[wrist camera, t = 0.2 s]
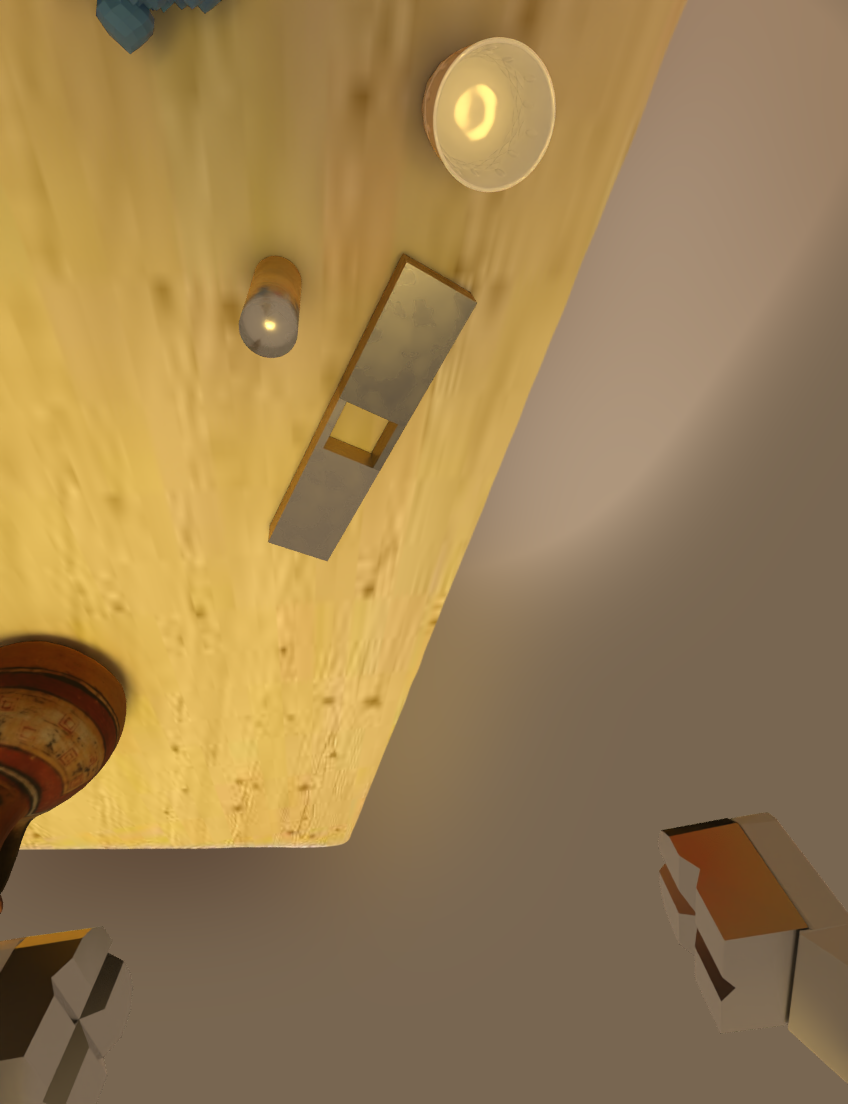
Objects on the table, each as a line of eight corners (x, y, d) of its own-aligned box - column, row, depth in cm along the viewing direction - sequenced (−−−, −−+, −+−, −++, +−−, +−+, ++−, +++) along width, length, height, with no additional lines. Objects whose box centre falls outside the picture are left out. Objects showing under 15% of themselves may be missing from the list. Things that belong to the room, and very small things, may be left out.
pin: (263, 246, 49) (250, 289, 40) (308, 270, 50) (306, 317, 41) (247, 291, 51) (231, 342, 42) (291, 313, 52) (285, 367, 43)
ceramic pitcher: (130, 631, 74) (45, 884, 51) (139, 725, 86) (74, 963, 64) (-51, 621, 69) (-233, 895, 47) (-14, 722, 81) (-144, 979, 59)
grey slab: (402, 253, 50) (406, 262, 48) (470, 292, 53) (477, 302, 51) (269, 525, 67) (268, 542, 64) (327, 544, 70) (327, 561, 67)
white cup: (524, 45, 43) (567, 42, 35) (507, 173, 48) (543, 195, 40) (416, 36, 42) (438, 31, 34) (411, 168, 47) (429, 189, 39)
